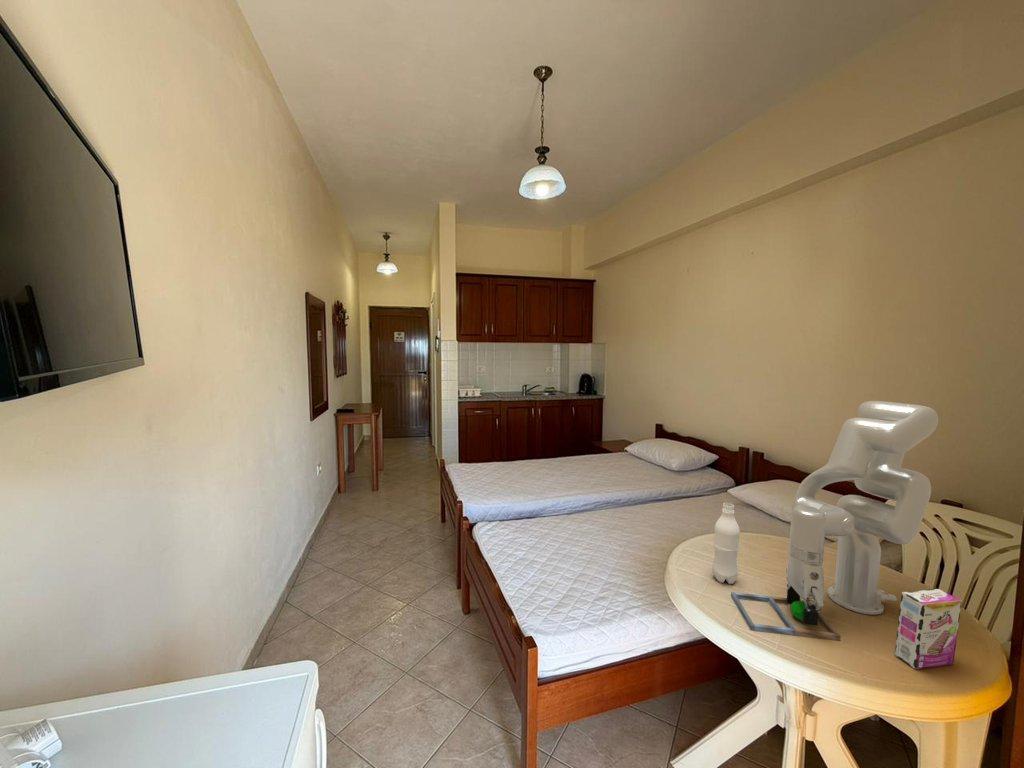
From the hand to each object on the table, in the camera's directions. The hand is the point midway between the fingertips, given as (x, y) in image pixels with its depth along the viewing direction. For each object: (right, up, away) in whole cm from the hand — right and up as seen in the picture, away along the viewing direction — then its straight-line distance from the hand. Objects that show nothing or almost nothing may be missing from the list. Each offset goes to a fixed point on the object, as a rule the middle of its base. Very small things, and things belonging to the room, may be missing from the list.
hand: (801, 613), depth 111 cm
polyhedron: (0, -2, 0) cm, 2 cm away
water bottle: (-11, 0, +19) cm, 22 cm away
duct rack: (-5, -2, +1) cm, 5 cm away
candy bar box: (+19, -3, -15) cm, 24 cm away
